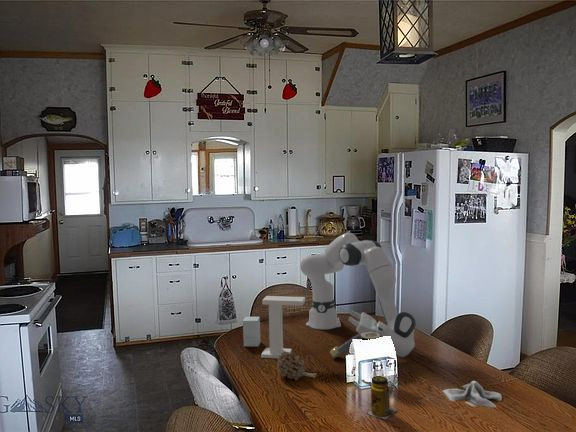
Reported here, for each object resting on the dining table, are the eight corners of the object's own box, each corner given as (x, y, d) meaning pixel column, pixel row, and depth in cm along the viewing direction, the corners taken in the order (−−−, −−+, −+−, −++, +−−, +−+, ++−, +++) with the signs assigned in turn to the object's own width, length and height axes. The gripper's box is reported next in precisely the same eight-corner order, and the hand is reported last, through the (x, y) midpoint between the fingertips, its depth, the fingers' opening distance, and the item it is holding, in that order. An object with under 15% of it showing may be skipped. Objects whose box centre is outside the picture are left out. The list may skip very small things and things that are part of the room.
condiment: (366, 413, 170) (365, 379, 169) (378, 404, 177) (378, 371, 176) (385, 420, 166) (385, 384, 165) (397, 410, 172) (397, 376, 171)
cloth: (434, 396, 184) (434, 379, 184) (464, 382, 195) (464, 367, 195) (491, 418, 166) (491, 400, 166) (520, 402, 178) (520, 385, 177)
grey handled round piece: (270, 376, 204) (269, 352, 203) (286, 369, 211) (286, 346, 210) (311, 392, 188) (311, 366, 188) (327, 384, 195) (327, 358, 195)
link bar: (334, 355, 225) (330, 350, 225) (371, 331, 221) (366, 325, 221) (333, 359, 221) (328, 353, 221) (370, 334, 216) (365, 328, 216)
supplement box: (260, 341, 247) (260, 316, 246) (258, 346, 240) (257, 320, 239) (246, 341, 248) (245, 316, 247) (243, 346, 240) (242, 320, 239)
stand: (266, 350, 234) (264, 295, 232) (306, 352, 230) (305, 296, 228) (261, 357, 225) (259, 300, 223) (303, 359, 221) (302, 301, 219)
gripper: (382, 319, 228) (355, 303, 230) (380, 333, 208) (351, 315, 210) (375, 330, 229) (348, 314, 231) (373, 345, 209) (344, 328, 211)
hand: (349, 315), depth 220 cm, fingers open, 8 cm apart
